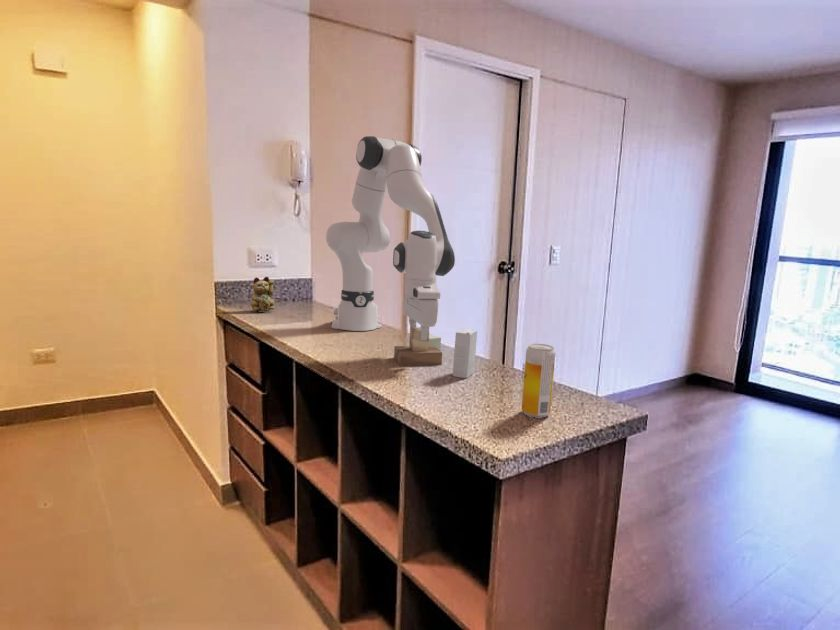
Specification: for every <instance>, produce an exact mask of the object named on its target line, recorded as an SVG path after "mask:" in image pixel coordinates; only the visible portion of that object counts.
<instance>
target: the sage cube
mask: <svg viewBox="0 0 840 630" xmlns="http://www.w3.org/2000/svg"><path fill="white" fill-rule="evenodd" d="M441 339H442V337H439V336H438V335H434V334H429V345H434V346H435V347H436V348H437V349H439V350H440V351H441V344H442V340H441Z"/></svg>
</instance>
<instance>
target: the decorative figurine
mask: <svg viewBox="0 0 840 630" xmlns="http://www.w3.org/2000/svg"><path fill="white" fill-rule="evenodd" d="M274 284H275V281H274V280H273V279H270V278H269V277H268V276H264V277H263V279H262V280H260V278H259V277H255V278H253V284H252V289H253V293H252V294H251V297H250V298H251V301H250V306H251V309H252V310H254V311H256V312H257V311H258V312H268V313H271V310H274V309H275V300H274V299H272V298H271V297H272V296H273V294H274V286H273V285H274ZM258 312H257V313H258Z"/></svg>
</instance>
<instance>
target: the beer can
mask: <svg viewBox="0 0 840 630" xmlns="http://www.w3.org/2000/svg"><path fill="white" fill-rule="evenodd" d="M555 363H556V350H555V347H554V346H553V345H549V344H543V343H530V344H528V346H527V348H526V350H525V362H524V373H523V374H524V375H523V387H522V397H521V398H522V399H521V412H523V415H525V416H526V415H527V416H526V417H529V418H533V417H535V418H534V419H543V418H542V417H545V418H547V417H548V415H549V414H550V413H551V410H552V408H551V407H552V397H553V396H552V394H553V386H554V385H553V383H554V376H555V375H554V373H555V365H556V364H555ZM546 416H547V417H546Z"/></svg>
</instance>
